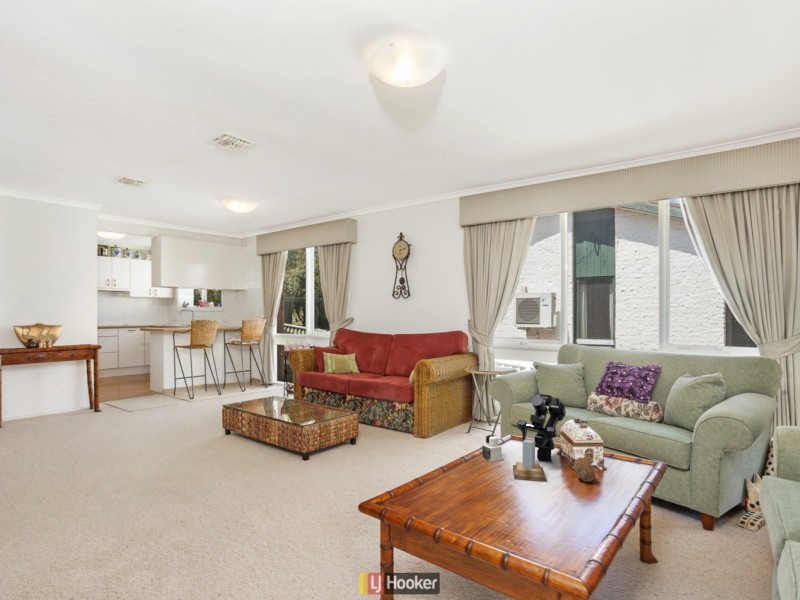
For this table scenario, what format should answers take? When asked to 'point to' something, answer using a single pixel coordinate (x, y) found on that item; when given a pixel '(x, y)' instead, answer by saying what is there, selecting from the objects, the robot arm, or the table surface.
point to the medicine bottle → (491, 449)
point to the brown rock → (584, 469)
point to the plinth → (529, 477)
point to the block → (529, 454)
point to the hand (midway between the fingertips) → (532, 444)
